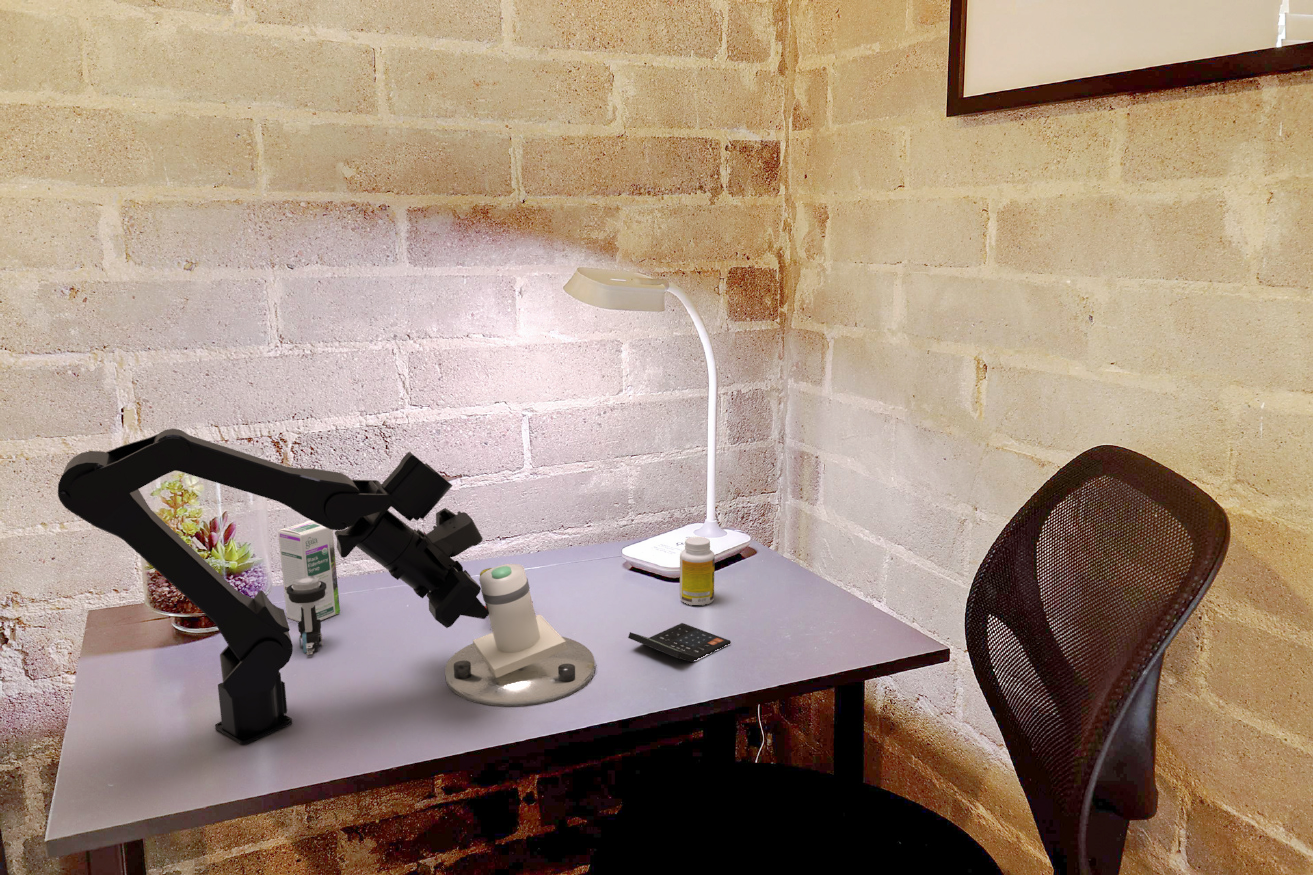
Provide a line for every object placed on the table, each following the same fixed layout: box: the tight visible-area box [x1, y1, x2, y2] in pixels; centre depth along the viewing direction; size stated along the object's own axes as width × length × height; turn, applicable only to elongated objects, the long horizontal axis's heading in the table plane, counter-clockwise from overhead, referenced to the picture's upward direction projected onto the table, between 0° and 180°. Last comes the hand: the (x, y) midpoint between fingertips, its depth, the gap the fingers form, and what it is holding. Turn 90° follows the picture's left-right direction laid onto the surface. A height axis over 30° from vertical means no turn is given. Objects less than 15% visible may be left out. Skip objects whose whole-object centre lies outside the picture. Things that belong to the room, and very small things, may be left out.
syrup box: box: [277, 519, 341, 623], centre depth 145 cm, size 6×6×14 cm
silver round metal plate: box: [444, 635, 596, 707], centre depth 128 cm, size 20×20×3 cm
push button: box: [286, 576, 326, 655], centre depth 134 cm, size 7×5×10 cm
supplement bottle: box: [679, 536, 716, 606], centre depth 152 cm, size 6×6×10 cm
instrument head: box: [472, 563, 567, 678], centre depth 126 cm, size 10×10×12 cm
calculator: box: [627, 622, 732, 663], centre depth 135 cm, size 9×12×3 cm
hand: (486, 615), depth 124 cm, fingers closed, pressing on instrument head
